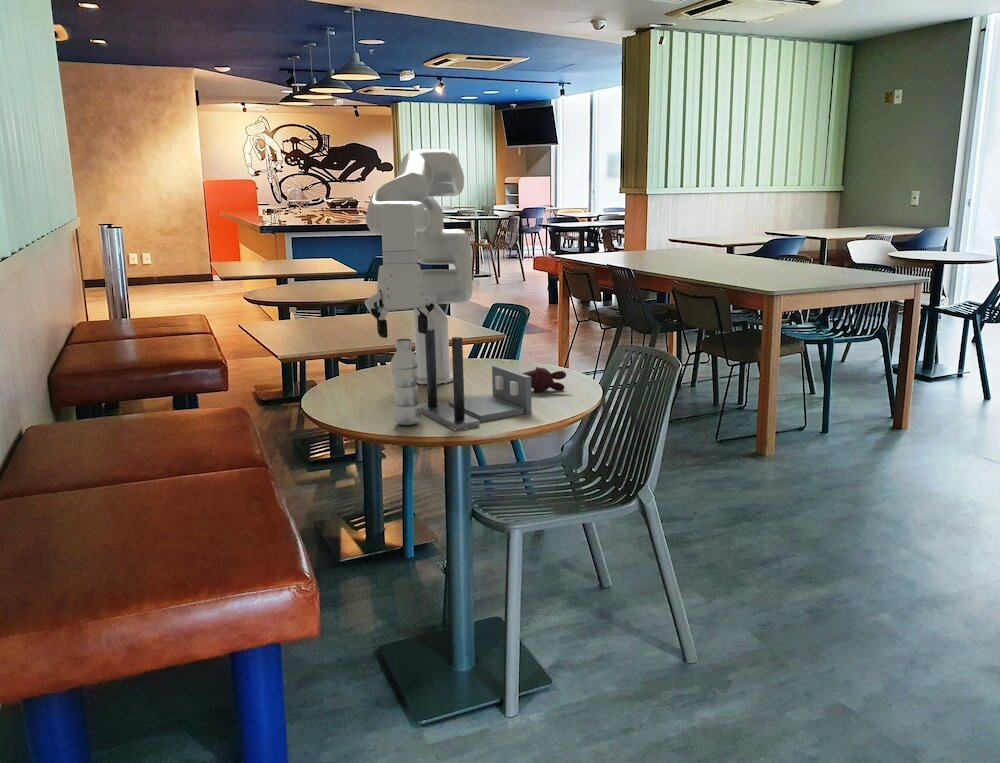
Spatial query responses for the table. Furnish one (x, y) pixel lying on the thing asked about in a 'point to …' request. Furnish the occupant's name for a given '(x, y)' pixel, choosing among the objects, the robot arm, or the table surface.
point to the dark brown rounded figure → (545, 379)
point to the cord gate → (441, 411)
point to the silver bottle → (405, 384)
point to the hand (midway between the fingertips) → (403, 335)
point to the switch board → (501, 396)
